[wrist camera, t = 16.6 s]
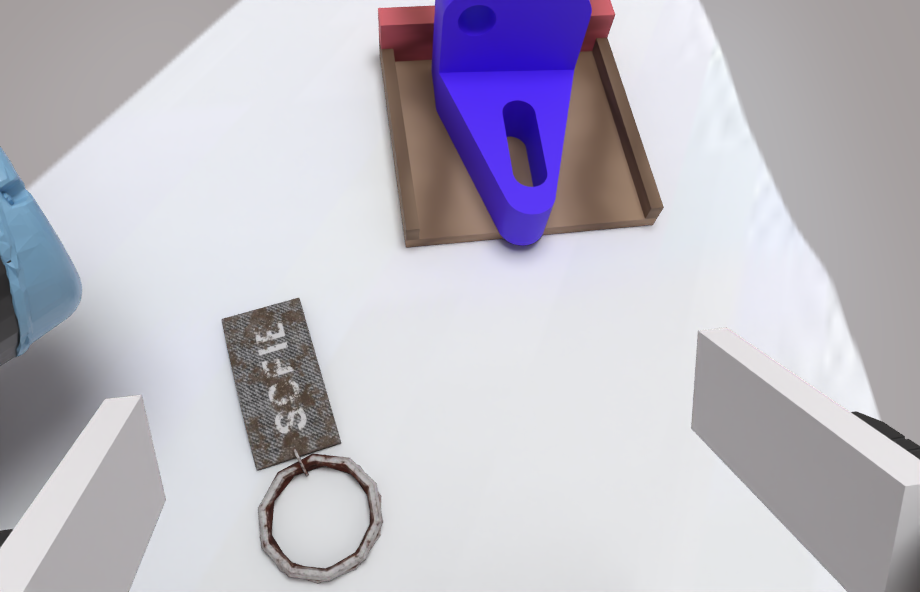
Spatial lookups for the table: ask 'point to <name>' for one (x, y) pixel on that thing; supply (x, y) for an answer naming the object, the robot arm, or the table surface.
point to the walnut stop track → (512, 142)
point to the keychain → (289, 418)
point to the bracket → (508, 97)
